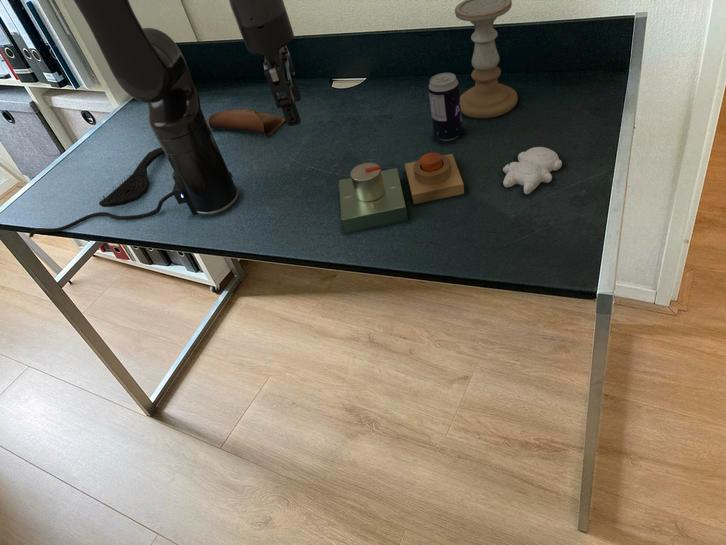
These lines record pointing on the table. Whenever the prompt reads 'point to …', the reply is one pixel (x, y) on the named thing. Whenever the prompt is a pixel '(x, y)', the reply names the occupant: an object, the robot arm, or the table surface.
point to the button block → (434, 180)
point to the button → (431, 162)
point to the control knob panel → (372, 204)
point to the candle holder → (485, 61)
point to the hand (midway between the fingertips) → (295, 112)
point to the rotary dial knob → (367, 182)
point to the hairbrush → (132, 183)
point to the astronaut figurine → (532, 168)
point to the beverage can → (445, 106)
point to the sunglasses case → (246, 121)
